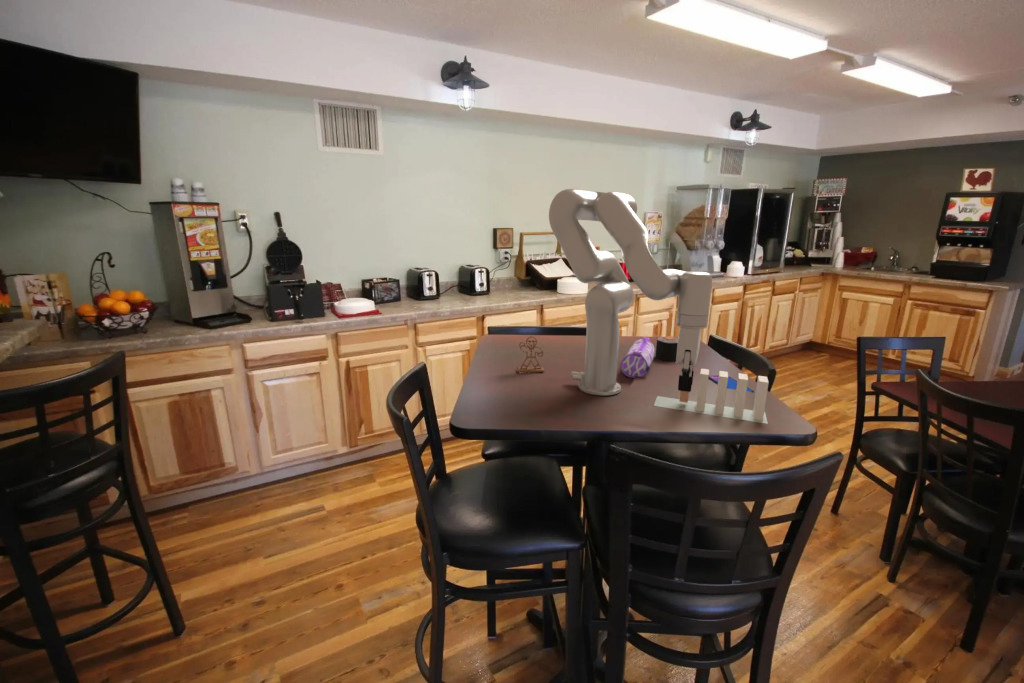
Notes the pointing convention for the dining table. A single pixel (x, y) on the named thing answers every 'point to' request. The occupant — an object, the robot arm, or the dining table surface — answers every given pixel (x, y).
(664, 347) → the sushi
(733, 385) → the smartphone
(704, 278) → the robot arm
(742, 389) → the domino
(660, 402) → the board
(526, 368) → the gingerbread man figurine
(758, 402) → the domino
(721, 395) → the domino
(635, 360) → the pencil case
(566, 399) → the dining table surface
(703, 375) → the domino
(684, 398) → the domino
